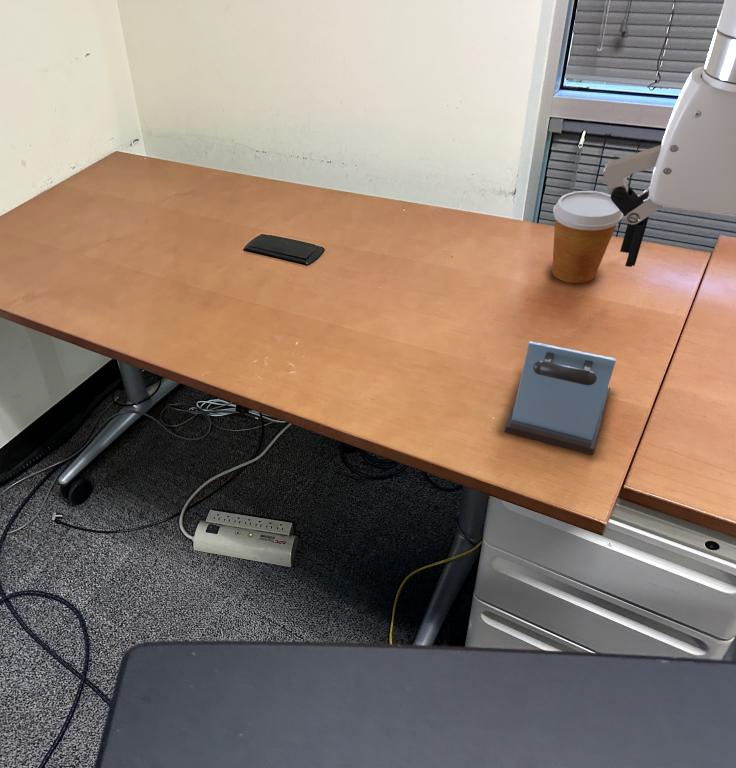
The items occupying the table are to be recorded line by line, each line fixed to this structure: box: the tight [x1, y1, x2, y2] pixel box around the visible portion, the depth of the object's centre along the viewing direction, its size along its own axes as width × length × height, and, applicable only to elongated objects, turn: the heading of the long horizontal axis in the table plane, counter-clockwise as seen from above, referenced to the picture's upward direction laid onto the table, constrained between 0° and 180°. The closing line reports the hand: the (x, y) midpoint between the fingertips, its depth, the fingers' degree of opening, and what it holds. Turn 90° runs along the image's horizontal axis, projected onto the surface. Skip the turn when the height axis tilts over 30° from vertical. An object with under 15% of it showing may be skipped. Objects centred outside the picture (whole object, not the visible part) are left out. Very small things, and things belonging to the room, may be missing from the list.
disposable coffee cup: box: [551, 190, 624, 284], centre depth 106 cm, size 10×10×12 cm
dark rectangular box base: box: [504, 386, 611, 456], centre depth 86 cm, size 12×10×2 cm
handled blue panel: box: [512, 340, 617, 440], centre depth 78 cm, size 11×9×5 cm
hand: (694, 268), depth 59 cm, fingers open, 9 cm apart
